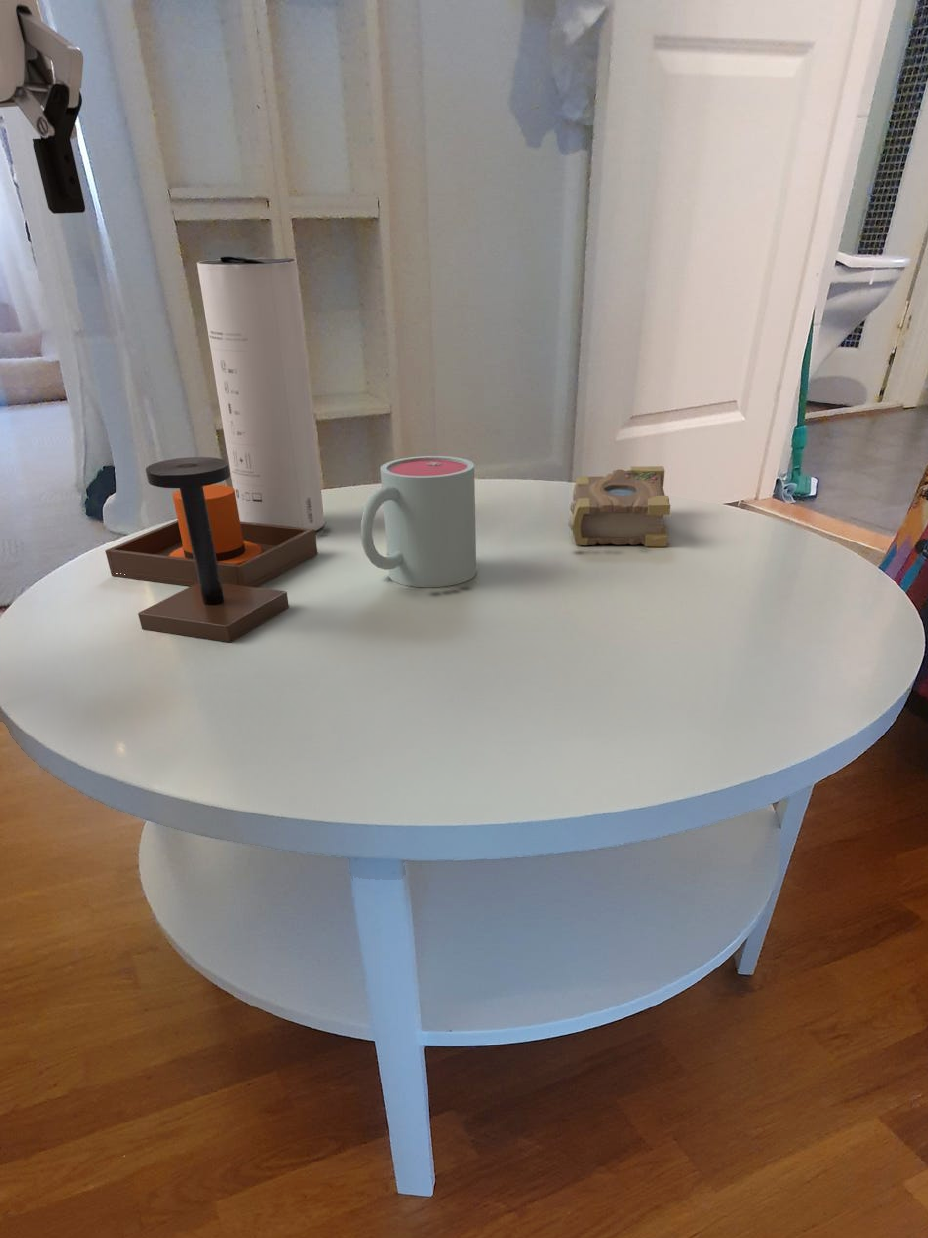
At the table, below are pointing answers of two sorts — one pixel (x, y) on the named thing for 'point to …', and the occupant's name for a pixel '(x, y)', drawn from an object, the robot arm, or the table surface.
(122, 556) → the tray
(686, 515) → the table surface
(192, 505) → the hat stand
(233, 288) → the white cylindrical canister
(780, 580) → the table surface
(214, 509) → the hat
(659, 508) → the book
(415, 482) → the mug
